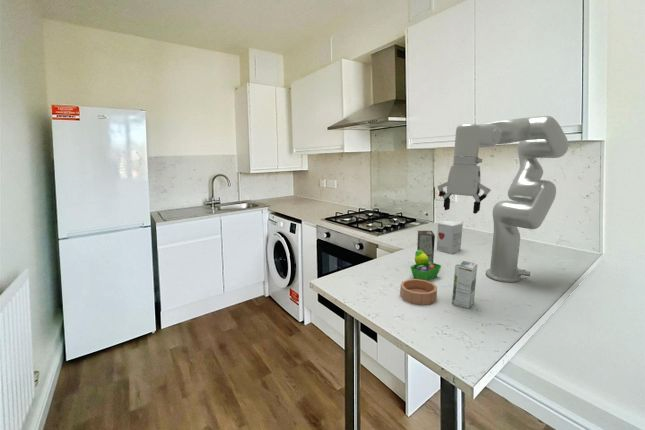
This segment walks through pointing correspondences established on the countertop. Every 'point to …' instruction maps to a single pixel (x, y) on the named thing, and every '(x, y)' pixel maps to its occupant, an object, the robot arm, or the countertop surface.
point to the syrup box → (464, 284)
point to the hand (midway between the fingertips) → (460, 211)
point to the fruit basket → (424, 267)
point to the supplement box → (449, 236)
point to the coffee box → (426, 243)
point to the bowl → (418, 291)
